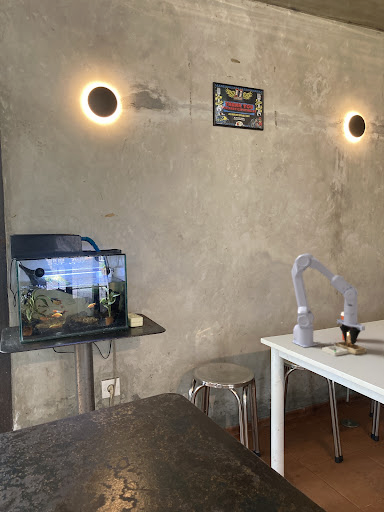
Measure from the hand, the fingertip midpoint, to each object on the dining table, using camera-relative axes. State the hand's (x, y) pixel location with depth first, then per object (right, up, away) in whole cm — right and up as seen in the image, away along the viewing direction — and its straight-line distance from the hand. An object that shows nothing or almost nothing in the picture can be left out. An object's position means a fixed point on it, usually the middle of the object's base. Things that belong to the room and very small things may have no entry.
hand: (350, 342), depth 176 cm
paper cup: (+6, -3, +16) cm, 17 cm away
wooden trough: (0, -4, 0) cm, 4 cm away
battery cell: (0, -2, 0) cm, 2 cm away
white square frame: (-8, -4, -2) cm, 9 cm away
